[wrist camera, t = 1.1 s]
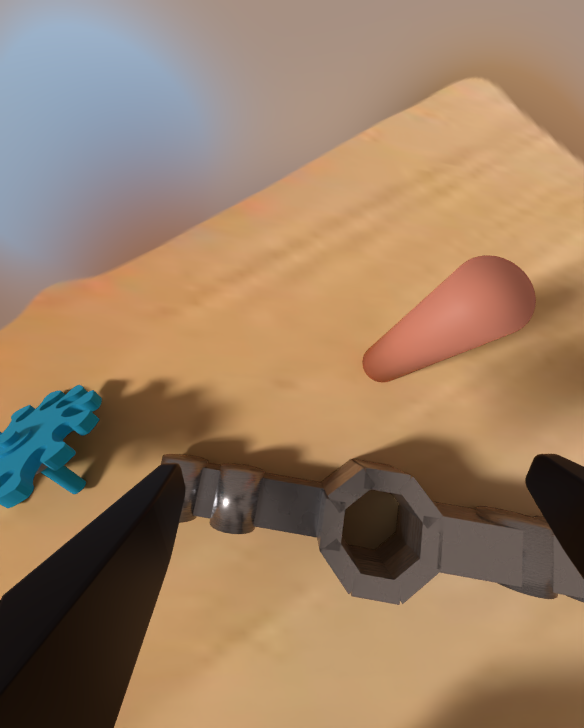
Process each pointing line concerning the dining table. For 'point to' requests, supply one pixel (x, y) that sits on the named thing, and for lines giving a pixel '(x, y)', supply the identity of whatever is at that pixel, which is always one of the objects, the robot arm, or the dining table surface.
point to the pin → (455, 318)
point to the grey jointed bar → (403, 549)
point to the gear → (44, 443)
